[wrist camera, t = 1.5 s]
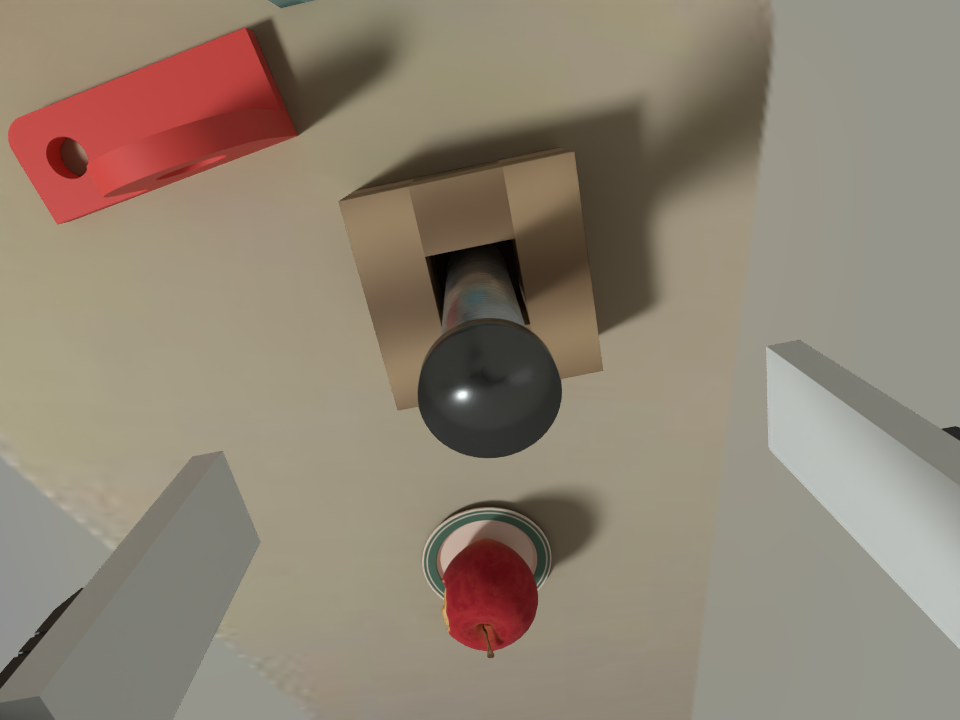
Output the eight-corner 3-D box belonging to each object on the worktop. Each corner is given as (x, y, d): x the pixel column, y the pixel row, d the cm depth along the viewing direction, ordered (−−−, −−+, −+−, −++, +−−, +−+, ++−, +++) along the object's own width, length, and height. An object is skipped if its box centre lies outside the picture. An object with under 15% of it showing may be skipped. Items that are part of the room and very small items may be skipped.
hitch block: (354, 191, 28) (338, 201, 25) (559, 147, 28) (574, 151, 24) (405, 377, 32) (397, 410, 28) (586, 341, 32) (603, 370, 28)
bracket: (253, 31, 26) (172, -4, 19) (298, 135, 28) (239, 141, 20) (15, 125, 27) (-151, 127, 20) (71, 220, 29) (-62, 255, 21)
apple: (476, 624, 39) (479, 715, 33) (396, 549, 37) (383, 633, 31) (575, 562, 37) (597, 647, 31) (498, 479, 35) (505, 554, 29)
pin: (429, 239, 29) (401, 343, 16) (508, 223, 29) (550, 313, 16) (446, 314, 31) (435, 469, 17) (522, 299, 31) (570, 443, 17)
